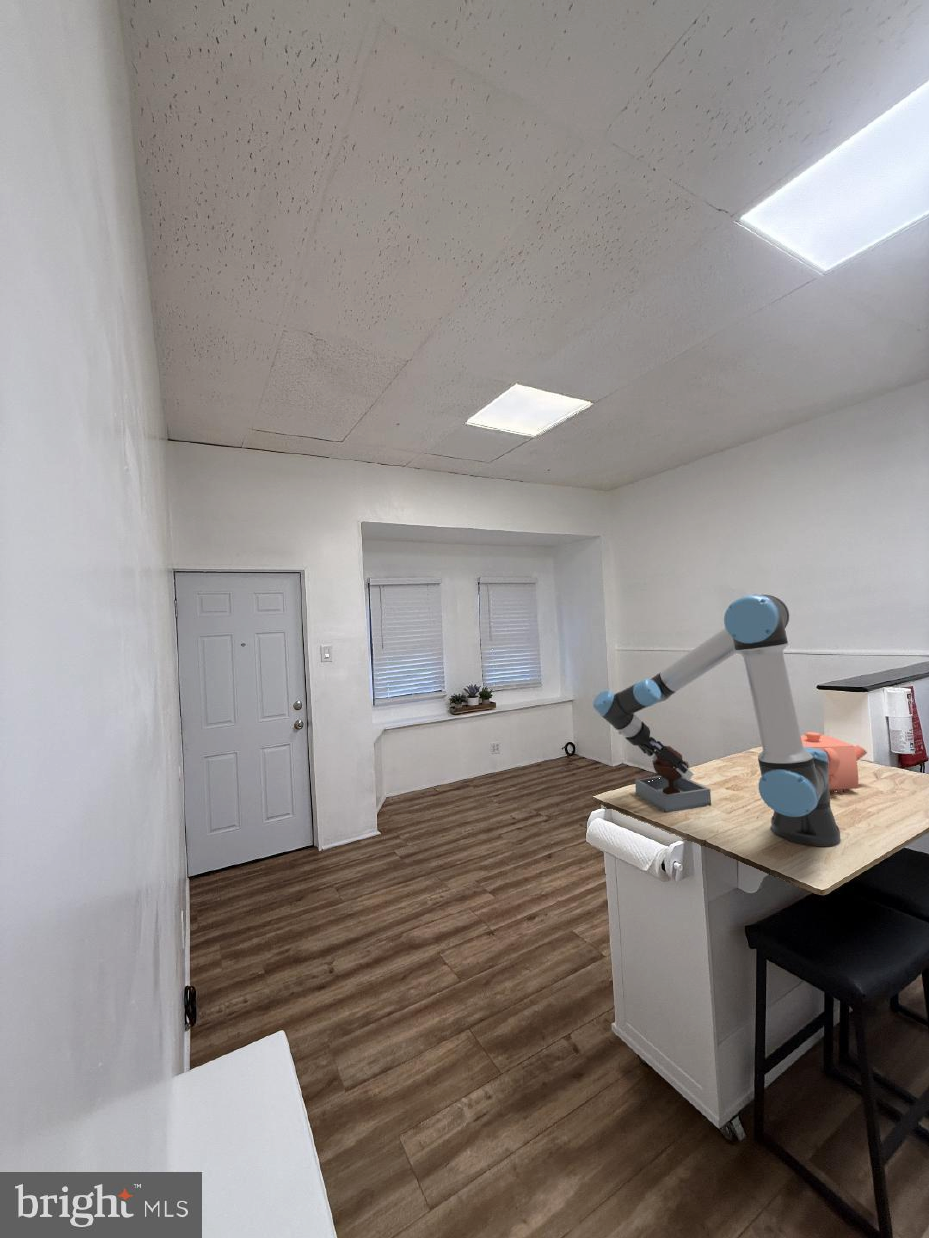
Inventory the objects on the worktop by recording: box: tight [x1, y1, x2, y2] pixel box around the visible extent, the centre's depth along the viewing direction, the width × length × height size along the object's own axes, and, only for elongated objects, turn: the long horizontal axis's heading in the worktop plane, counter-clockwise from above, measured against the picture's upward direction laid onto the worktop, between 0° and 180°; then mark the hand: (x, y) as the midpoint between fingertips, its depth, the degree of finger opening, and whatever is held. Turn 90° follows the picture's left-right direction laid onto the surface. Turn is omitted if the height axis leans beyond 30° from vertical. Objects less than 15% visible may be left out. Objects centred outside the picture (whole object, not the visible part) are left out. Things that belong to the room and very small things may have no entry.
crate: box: [634, 775, 712, 814], centre depth 157 cm, size 16×16×5 cm
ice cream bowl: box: [652, 745, 690, 794], centre depth 157 cm, size 11×11×15 cm
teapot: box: [800, 731, 868, 793], centre depth 161 cm, size 25×23×18 cm
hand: (678, 771), depth 157 cm, fingers closed on ice cream bowl, 11 cm apart
